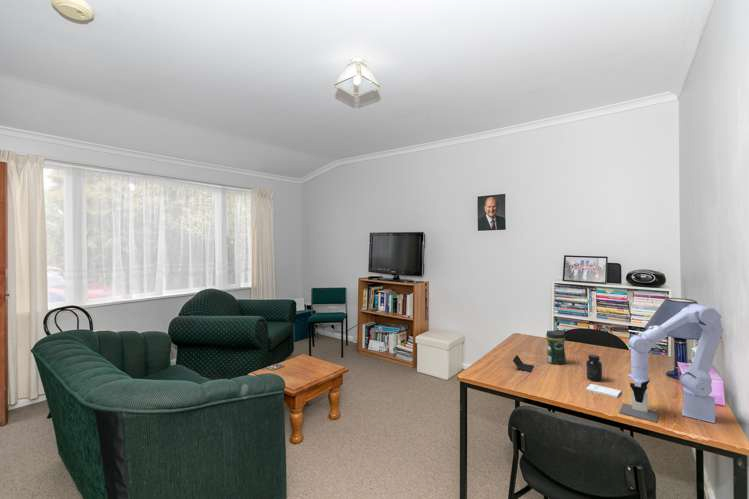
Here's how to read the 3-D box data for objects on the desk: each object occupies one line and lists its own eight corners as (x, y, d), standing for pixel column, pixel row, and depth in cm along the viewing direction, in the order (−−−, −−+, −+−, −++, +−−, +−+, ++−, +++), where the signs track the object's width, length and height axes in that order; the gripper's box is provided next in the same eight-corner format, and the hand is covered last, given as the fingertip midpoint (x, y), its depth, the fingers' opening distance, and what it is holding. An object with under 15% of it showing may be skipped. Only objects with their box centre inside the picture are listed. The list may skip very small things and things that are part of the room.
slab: (647, 410, 145) (647, 393, 145) (647, 412, 143) (647, 395, 143) (632, 406, 148) (632, 389, 148) (632, 408, 146) (632, 391, 146)
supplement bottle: (592, 376, 184) (592, 353, 184) (605, 380, 178) (605, 356, 178) (583, 378, 182) (583, 354, 181) (595, 382, 175) (595, 358, 175)
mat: (658, 412, 144) (658, 411, 144) (656, 422, 136) (656, 421, 136) (623, 403, 152) (623, 403, 152) (619, 413, 144) (619, 412, 144)
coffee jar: (560, 360, 209) (560, 329, 209) (567, 364, 201) (567, 332, 201) (544, 360, 209) (544, 329, 209) (550, 365, 202) (550, 332, 201)
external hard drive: (617, 399, 158) (586, 391, 166) (621, 393, 163) (590, 386, 172) (617, 395, 158) (586, 387, 166) (621, 390, 163) (590, 383, 172)
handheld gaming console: (534, 370, 190) (522, 353, 193) (523, 377, 191) (511, 360, 195) (534, 366, 200) (522, 351, 204) (523, 373, 202) (512, 357, 205)
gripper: (630, 359, 154) (630, 390, 154) (625, 368, 143) (625, 402, 143) (650, 362, 149) (651, 395, 149) (647, 372, 138) (647, 407, 138)
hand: (640, 398), depth 146 cm, fingers open, 7 cm apart
